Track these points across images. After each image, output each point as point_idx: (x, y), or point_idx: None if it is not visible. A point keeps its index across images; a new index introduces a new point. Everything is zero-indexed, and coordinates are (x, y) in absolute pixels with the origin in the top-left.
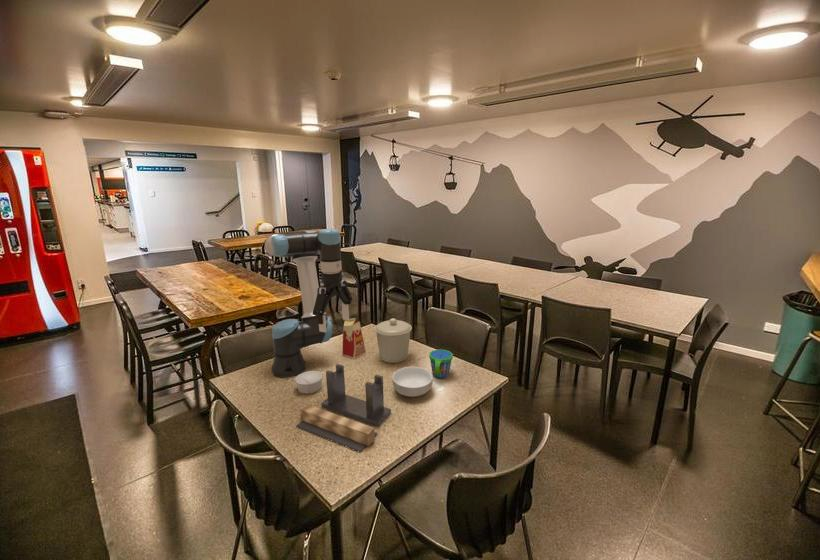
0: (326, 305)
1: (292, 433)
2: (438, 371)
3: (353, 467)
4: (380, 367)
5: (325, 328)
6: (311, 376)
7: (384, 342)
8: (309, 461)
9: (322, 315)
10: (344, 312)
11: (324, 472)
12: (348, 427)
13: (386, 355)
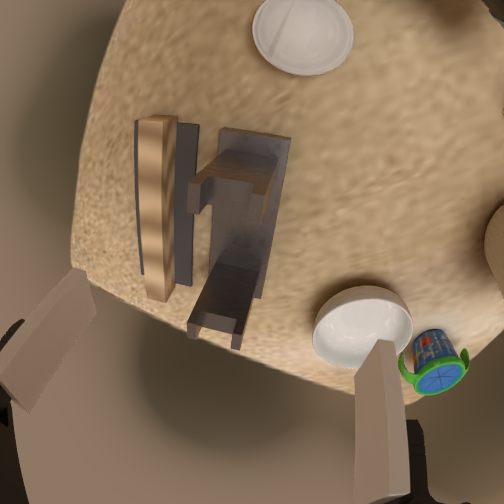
0: (15, 487)
1: (119, 127)
2: (399, 366)
3: (117, 272)
4: (468, 208)
5: (76, 330)
6: (311, 35)
7: None
8: (90, 206)
9: (5, 402)
10: (371, 418)
11: (89, 239)
12: (143, 260)
13: (494, 236)
